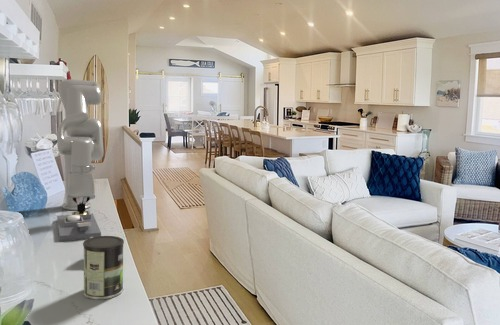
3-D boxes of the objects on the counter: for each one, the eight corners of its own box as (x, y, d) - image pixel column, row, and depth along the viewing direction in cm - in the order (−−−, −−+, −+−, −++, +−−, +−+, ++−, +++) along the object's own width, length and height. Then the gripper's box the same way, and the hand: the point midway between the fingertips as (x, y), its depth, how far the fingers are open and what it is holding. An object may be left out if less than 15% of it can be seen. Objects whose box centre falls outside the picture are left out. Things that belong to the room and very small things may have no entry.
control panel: (57, 220, 176) (57, 211, 176) (92, 218, 183) (92, 209, 182) (59, 241, 152) (59, 231, 151) (101, 237, 158) (101, 227, 157)
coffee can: (123, 282, 121) (123, 234, 119) (123, 298, 112) (123, 246, 110) (84, 284, 118) (84, 236, 116) (81, 301, 109) (81, 248, 107)
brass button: (74, 215, 177) (74, 211, 177) (86, 214, 179) (86, 211, 179) (75, 218, 173) (75, 214, 172) (87, 217, 175) (87, 213, 174)
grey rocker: (76, 225, 162) (76, 223, 163) (89, 224, 164) (88, 222, 164) (78, 226, 154) (78, 223, 154) (91, 225, 156) (91, 222, 156)
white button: (67, 219, 167) (67, 215, 167) (79, 218, 169) (79, 214, 169) (67, 222, 163) (67, 218, 163) (80, 221, 165) (80, 217, 165)
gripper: (99, 167, 180) (99, 209, 182) (60, 168, 173) (61, 212, 175) (101, 170, 173) (101, 214, 175) (61, 171, 166) (62, 216, 169)
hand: (81, 212), depth 175 cm, fingers closed
